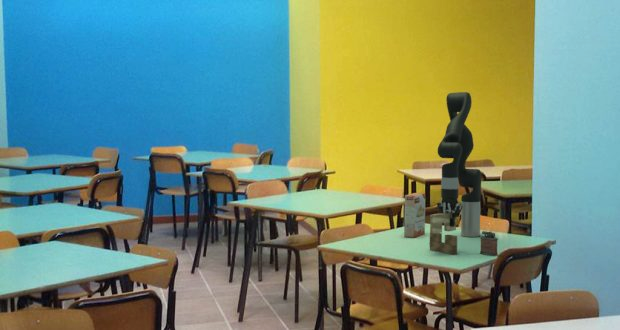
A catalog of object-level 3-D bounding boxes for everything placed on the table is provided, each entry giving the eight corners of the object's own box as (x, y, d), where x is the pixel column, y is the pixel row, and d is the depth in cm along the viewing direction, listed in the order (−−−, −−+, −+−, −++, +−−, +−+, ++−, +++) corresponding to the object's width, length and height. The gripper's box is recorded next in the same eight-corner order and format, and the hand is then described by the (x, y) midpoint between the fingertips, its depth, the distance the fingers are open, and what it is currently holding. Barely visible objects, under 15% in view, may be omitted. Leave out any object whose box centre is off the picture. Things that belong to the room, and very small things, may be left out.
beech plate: (430, 232, 331) (430, 214, 331) (451, 229, 340) (452, 211, 339) (434, 233, 330) (434, 215, 329) (455, 230, 338) (456, 212, 337)
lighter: (499, 254, 328) (499, 232, 328) (495, 256, 326) (495, 233, 325) (482, 252, 334) (482, 230, 333) (478, 253, 331) (478, 231, 330)
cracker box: (415, 238, 370) (415, 195, 369) (403, 237, 373) (403, 195, 372) (425, 234, 382) (425, 192, 381) (414, 233, 385) (414, 192, 384)
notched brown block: (429, 250, 340) (429, 232, 340) (433, 249, 342) (433, 231, 341) (453, 254, 329) (453, 236, 329) (457, 254, 331) (457, 236, 330)
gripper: (432, 186, 339) (432, 225, 340) (455, 189, 328) (455, 229, 329) (443, 185, 343) (443, 223, 345) (467, 188, 332) (467, 227, 334)
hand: (449, 225), depth 337 cm, fingers closed on beech plate, 2 cm apart
